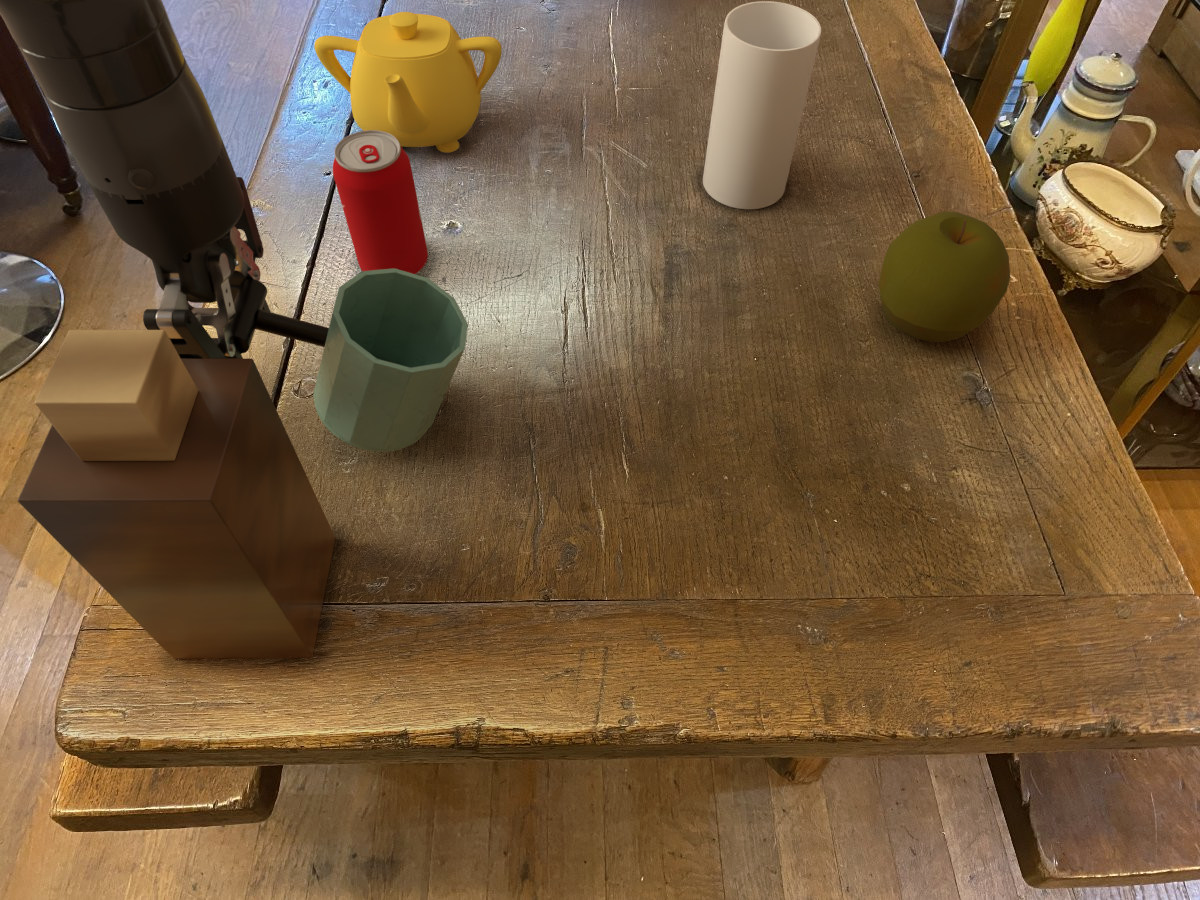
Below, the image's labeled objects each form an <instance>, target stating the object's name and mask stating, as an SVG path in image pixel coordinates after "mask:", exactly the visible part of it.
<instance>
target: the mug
mask: <svg viewBox="0 0 1200 900" xmlns="http://www.w3.org/2000/svg"><path fill="white" fill-rule="evenodd" d="M267 295H268V288H267V286H266V285H265V284H264V283H263V282H261V281H257V280H254V279H246V280H244V281H242V282H241V284H240V287H239V290H238V293H237V296H236V298H235V301H234V307H235V312H236V315H235V317H234V318H233V319H232V320H231V321H230V324H231V328H232V333H233V337H234V342H235V346H237V347H238V349H239V351H240V353H241V355H242V354H246V353H247V352H248V351H249V350H250V347H251V344H252V342H253V337H254V335H255V332H256V330H258V331H260V332H264V333H268V334H272V335H275V336H279V337H283V338H288V339H290V340H294V341H295V340H296V341H298V342H303V343H306V344H310V345H315V346H317V347H321V348H323V351H322V356H321V359H320V364H319V367H318V372H317V376H316V380H315V384H314V389H313V394H312V399H313V403H314V407H315V411H316V413H317V416H318V417H319V420H320V421H321V422H322V424H323V425H324V426H325V428H326V429H327V430H328V431H329V432H330V433H331V434H333V436H335V437H336V438H338V439H339V440H341V441H342V442H344V443H346V444H348V445H349V446H352V447H354V448H356V449H361V450H364V451H369V452H375V453H376V452H378V453H385V452H395V451H399V450H403V449H406V448H408V447H410V446H412V445H414V444H415V443H417V442H418V441H419V440H420V439H422V437H423V436H424V435H425V434H426V433H427V431H428V430H429V429H430V428H431V427H432V426H433V423H434V422H435V419H436V417H437V415H438V412H439V409H440V407H441V405H442V403H443V400H444V398H445V395H446V393H447V391H448V390H449V386H450V384H451V381H452V379H453V377H454V375H455V372H456V371H457V369H458V365H459V364H460V360H461V358H462V357H463V354H464V352H465V349H466V342H467V335H468V327H469V323H468V321H467V319H466V317H465V316H464V314H463V312H462V310H461V308H460V306H459V304H458V302H457V301H456V299H455V298H454V296H452V295H451V294H449V292H447V291H446V290H444V289H443V288H442V287H440V286H439V285H438V284H437V283H435V282H434V281H432V280H431V279H430V278H428V277H425V276H422V275H418V274H412V273H409V272H405V271H402V270H399V269H394V268H393V269H382V270H371V271H360V272H359V273H358V274H356V275H355V276H353V277H352V278H350V279H349V280H348V281H346V282H344V283H343V284H342V285H340V286H339V287H338V290H337V293H336V299H335V301H334V306H333V309H332V313H331V317H330V321H329V325H328V327H327V326H325V325H324V326H323V325H320V324H316V323H312V322H309V321H305V320H301V319H298V318H294V317H290V316H287V315H283V314H280V313H279V314H278V313H275V312H272V311H271V312H268V311H264V310H262V307H263V304H264V301H265V299H266V298H267Z"/></svg>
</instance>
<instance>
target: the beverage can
mask: <svg viewBox="0 0 1200 900" xmlns="http://www.w3.org/2000/svg"><path fill="white" fill-rule="evenodd" d="M332 175H333V178H334V182H335V186H336V189H337V193H338V196H339V199H340V204H341V207H342V210H343V214H344V217H345V222H346V224H347V228H348V232H349V235H350V239H351V243H352V245H353V249H354V253H355V255H356V260H357V263H358V266H359V268H360V270H361V272H363V271H371V270H382V269H393V268H394V269H399V270H402V271H405V272H409V273H412V274H415V275H418V273H419V272H420V271H421V270H422V269H423V268H424V267H425V266H426V264H427V262H428V259H429V251H428V246H427V241H426V236H425V231H424V226H423V220H422V215H421V211H420V210H421V209H420V205H419V201H418V196H417V195H418V194H417V190H416V184H415V179H414V175H413V169H412V164H411V160H410V158H409V155H408V154H407V153H406V151H405V149H403V147H401V146H400V143H399V141H398V140H397V139H396V138H395V137H394V136H393V135H391V134H389V133H386V132H383V131H378V130H366V131H363V130H360V131H356V132H354V133H351V134H349V135H347V136H345V137H344V138H342V139H341V140H340V141H338V143H337V144H336V146H335V147H334V159H333V164H332Z"/></svg>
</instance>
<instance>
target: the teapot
mask: <svg viewBox="0 0 1200 900" xmlns="http://www.w3.org/2000/svg"><path fill="white" fill-rule="evenodd" d="M313 48H314V51H315V54H316V57H317V58H318V60H319V61H320V63H321V64H322V66H323V67H324V69H326V71H327V72H328V73H329V74H330V75H331V76H332V77H333V78H334V79H335V80H336V81H337V82H338V83H339V84H340V85H341V86H342V88H344V89H345V90H346V91H347V92H348V93H349V94H350V95H349V96H350V105H351V106H350V107H351V112H352V117H353V119H354V121H355V123H356V125H357V126H358V127H359V128H360V129H361V131H366V130H378V131H383V132H386V133H389V134H391V135H393V136H394V137H395V138H396V139H397V140H398V141H399V143H400V146H401V147H402V148H403V147H405V148H424V147H434V146H435V147H436V149H437V151H439V152H442V153H452V152H453V153H454V152H455V151H457V150H458V149H459V148H460V143H459V141H458V140H460V139H462V138H463V137H464V136H466V135H467V134H468V132H469V131H470V129H471V128H472V127H473V125H474V123H475V121H476V119H477V117H478V114H479V111H480V107H481V102H482V93H481V92H482V91H483V89H484V88H485V86H487V83H489V81H490V80H491V78H492V76H493V74H495V72H496V70H497V68H498V67H499V64H500V61H501V58H502V52H503V51H502V50H503V49H502V48H503V47H502V44H501V42H500V41H499V40H498V38H495V37H492V36H473V37H467V38H461V37H460V35H459V33H458V32H457V30H456V29H455V27H454V26H453V25H452V23H451V22H450V21H448V20H446V19H445V18H443V17H441V16H437V15H432V14H424V13H414V12H412V11H411V12H410V11H398V12H395V13H393V14H389V15H388V14H387V15H383V16H379V17H376V18H373V19H371V20H370V21H368V22H367V23H366V25H365V26H364V27H363V29H362V31H361V34H360V37H359V39H354V38H350V37H349V38H348V37H344V36H337V35H321V36H320V37H318V38H317V39H315V41H314V47H313ZM335 51H343V52H349V53H353V54H354V57H353V61H352V66H351V72H350V75H349V73H348V72H347V71H346V70H345V69H344V67H343V66H342V65H341V63H340V61H339V59H338V58H337V56H336V54H335ZM469 51H479V52H483V54H484V59H483V64H482V67H481V70H480V72H479V75H478V72H477V70H476V69H477V68H476V66H475V63H474V60H473V58H472V55H471V54H470V53H471V52H469Z"/></svg>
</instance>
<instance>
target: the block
mask: <svg viewBox="0 0 1200 900" xmlns="http://www.w3.org/2000/svg"><path fill="white" fill-rule="evenodd" d="M197 393H198V388H197V387H196V385H195V383H194V381H193V380H192V378H191V376H190V374H189V372H188V371H187V369H186V367H185V365H184V364H183V362H182V360H181V358H180V356H179V355H178V353H177V351H176V349H175V348H174V346H173V344H172V342H171V340H170V339H169V337H168V335H167V333H166V332H165V330H147V329H69V330H68V332H67V334H66V336H65V337H64V340H63V342H62V344H61V346H60V347H59V350H58V353H57V354H56V357H55V359H54V360H53V363H52V365H51V367H50V369H49V371H48V373H47V375H46V377H45V380H44V381H43V384H42V386H41V388H40V390H39V392H38V394H37V396H36V398H35V400H34V405H35V406H36V407H37V408H38V410H39V411H40V412H41V413H42V414H43V416H44V417H45V418H46V420H47V421H49V423H50V425H51V426H52V425H53V426H54V428H55V429H56V430H57V431H58V433H59V434H60V435H61V436H62V437H63V439H64V440H65V441H66V442H67V444H68V445H69V446H70V447H71V448H72V450H73V451H74V452H75V453H76V455H77V456H78V457H79V458H80V459H81V460H82V461H174V460H175V458H176V455H177V452H178V450H179V447H180V444H181V441H182V438H183V435H184V432H185V429H186V426H187V423H188V420H189V417H190V414H191V411H192V408H193V405H194V402H195V399H196V396H197Z"/></svg>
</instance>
